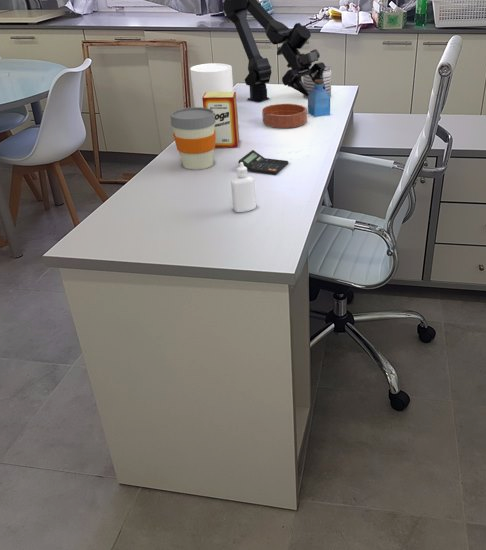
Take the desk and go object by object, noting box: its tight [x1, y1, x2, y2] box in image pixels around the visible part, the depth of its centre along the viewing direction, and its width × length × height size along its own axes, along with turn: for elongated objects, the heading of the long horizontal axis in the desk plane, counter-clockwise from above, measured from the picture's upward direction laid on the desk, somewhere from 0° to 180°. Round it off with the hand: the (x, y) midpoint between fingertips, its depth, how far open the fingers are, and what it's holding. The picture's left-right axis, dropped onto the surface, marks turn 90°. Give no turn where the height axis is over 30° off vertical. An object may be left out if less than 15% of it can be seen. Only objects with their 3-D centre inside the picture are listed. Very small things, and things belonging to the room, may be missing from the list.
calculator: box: [237, 149, 289, 176], centre depth 164 cm, size 9×12×3 cm
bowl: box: [261, 103, 308, 129], centre depth 201 cm, size 16×16×4 cm
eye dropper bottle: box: [230, 162, 257, 213], centre depth 137 cm, size 4×6×12 cm
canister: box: [189, 62, 234, 108], centre depth 193 cm, size 14×14×20 cm
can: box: [302, 63, 332, 100], centre depth 229 cm, size 11×11×12 cm
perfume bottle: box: [307, 79, 331, 118], centre depth 208 cm, size 6×6×12 cm
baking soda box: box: [202, 91, 240, 149], centre depth 179 cm, size 10×6×16 cm
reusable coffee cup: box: [170, 106, 216, 170], centre depth 164 cm, size 13×13×15 cm
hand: (316, 92), depth 208 cm, fingers open, 9 cm apart
